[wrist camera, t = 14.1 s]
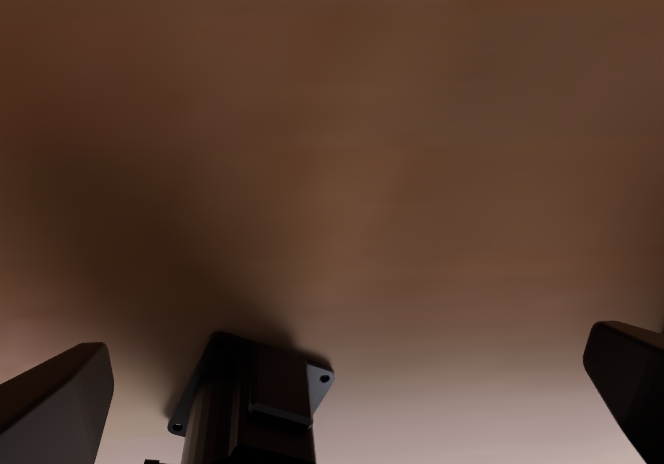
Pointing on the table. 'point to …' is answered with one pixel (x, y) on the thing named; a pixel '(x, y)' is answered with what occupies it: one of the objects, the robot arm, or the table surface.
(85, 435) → the robot arm
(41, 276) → the table surface
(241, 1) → the table surface
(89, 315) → the table surface
